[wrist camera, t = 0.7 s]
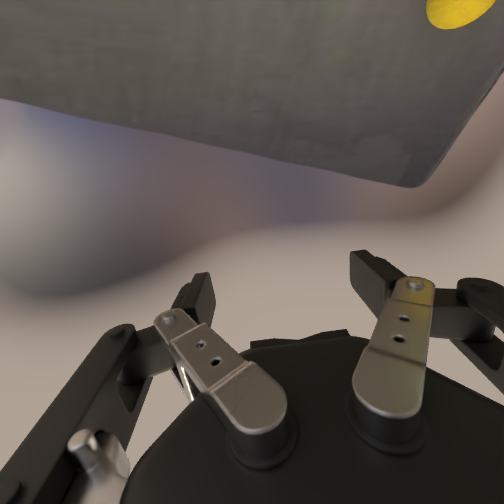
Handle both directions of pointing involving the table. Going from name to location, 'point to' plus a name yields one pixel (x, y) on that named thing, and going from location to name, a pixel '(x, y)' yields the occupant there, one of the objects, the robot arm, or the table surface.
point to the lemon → (455, 12)
